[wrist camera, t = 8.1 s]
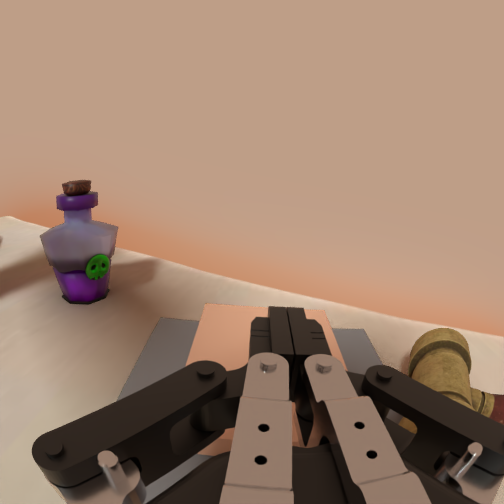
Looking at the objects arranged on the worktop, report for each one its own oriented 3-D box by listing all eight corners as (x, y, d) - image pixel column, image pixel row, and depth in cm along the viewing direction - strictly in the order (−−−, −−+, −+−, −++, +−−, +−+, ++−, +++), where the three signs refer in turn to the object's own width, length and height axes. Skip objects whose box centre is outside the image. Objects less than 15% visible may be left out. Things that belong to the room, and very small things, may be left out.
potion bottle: (93, 319, 26) (80, 185, 22) (34, 300, 27) (20, 186, 23) (137, 284, 34) (133, 176, 30) (80, 273, 35) (74, 176, 32)
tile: (165, 431, 13) (205, 303, 26) (169, 451, 13) (205, 321, 27) (371, 436, 13) (324, 310, 26) (361, 456, 13) (321, 327, 27)
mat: (65, 527, 8) (60, 522, 7) (161, 323, 27) (160, 317, 26) (451, 530, 8) (457, 525, 7) (361, 334, 27) (363, 328, 27)
